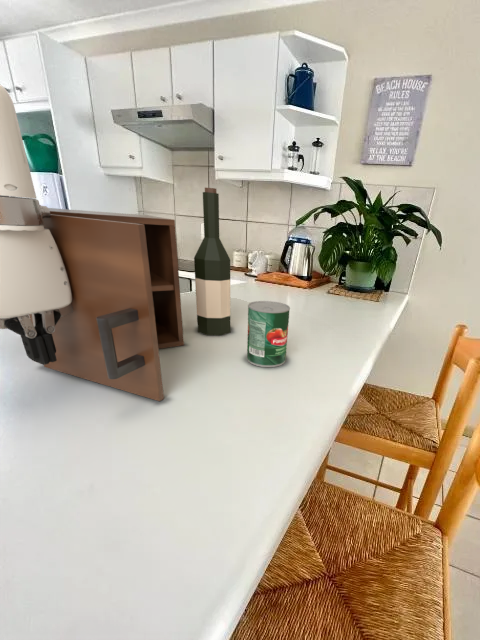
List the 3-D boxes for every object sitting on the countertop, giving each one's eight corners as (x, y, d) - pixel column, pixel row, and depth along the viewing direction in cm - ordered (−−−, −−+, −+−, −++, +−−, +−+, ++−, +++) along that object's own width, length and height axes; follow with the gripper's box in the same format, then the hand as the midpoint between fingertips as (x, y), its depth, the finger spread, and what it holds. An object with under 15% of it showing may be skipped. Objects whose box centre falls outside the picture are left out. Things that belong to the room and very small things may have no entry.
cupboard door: (131, 419, 43) (97, 223, 32) (9, 379, 50) (-53, 206, 39) (164, 398, 49) (144, 224, 38) (49, 364, 55) (5, 209, 45)
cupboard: (184, 345, 69) (174, 219, 58) (47, 365, 56) (1, 207, 45) (159, 321, 81) (147, 215, 70) (43, 333, 68) (6, 204, 57)
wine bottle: (237, 333, 78) (238, 190, 65) (204, 337, 74) (198, 185, 60) (223, 323, 84) (221, 190, 71) (191, 326, 80) (183, 186, 66)
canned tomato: (251, 350, 69) (252, 298, 64) (287, 354, 69) (291, 303, 64) (242, 365, 62) (243, 308, 57) (283, 369, 62) (287, 313, 57)
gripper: (47, 215, 44) (77, 340, 53) (-108, 208, 32) (-37, 373, 41) (84, 219, 42) (109, 350, 50) (-69, 213, 30) (-2, 388, 38)
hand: (44, 360), depth 45 cm, fingers closed
